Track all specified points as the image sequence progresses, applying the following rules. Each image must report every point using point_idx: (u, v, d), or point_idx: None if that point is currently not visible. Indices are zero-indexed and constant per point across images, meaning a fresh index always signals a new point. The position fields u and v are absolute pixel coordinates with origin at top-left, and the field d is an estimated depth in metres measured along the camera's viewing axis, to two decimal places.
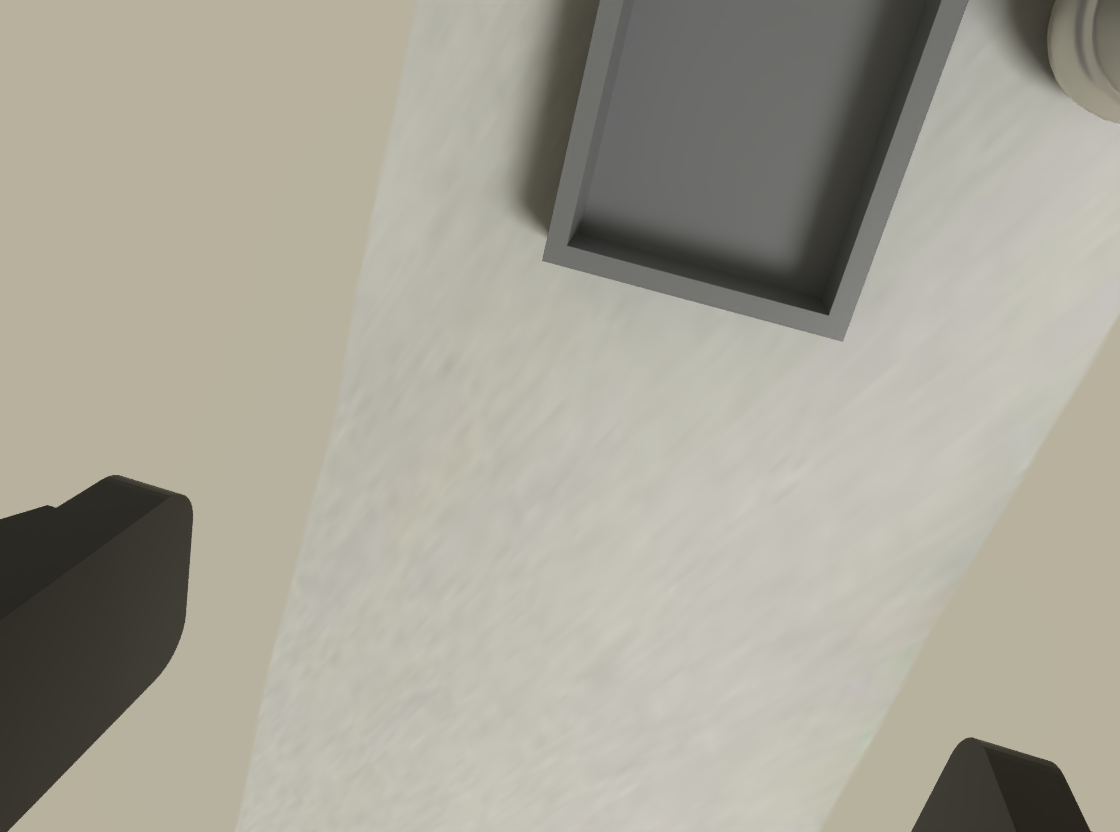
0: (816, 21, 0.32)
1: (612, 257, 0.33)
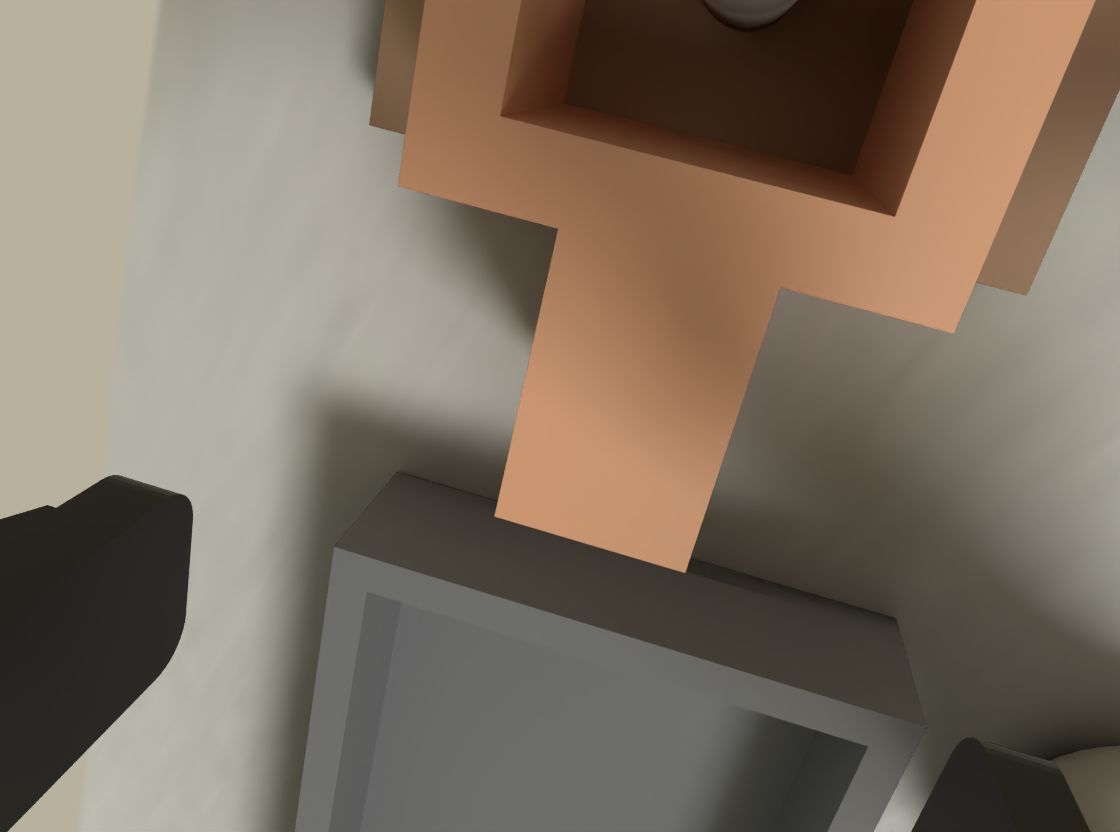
0: (639, 774, 0.22)
1: None
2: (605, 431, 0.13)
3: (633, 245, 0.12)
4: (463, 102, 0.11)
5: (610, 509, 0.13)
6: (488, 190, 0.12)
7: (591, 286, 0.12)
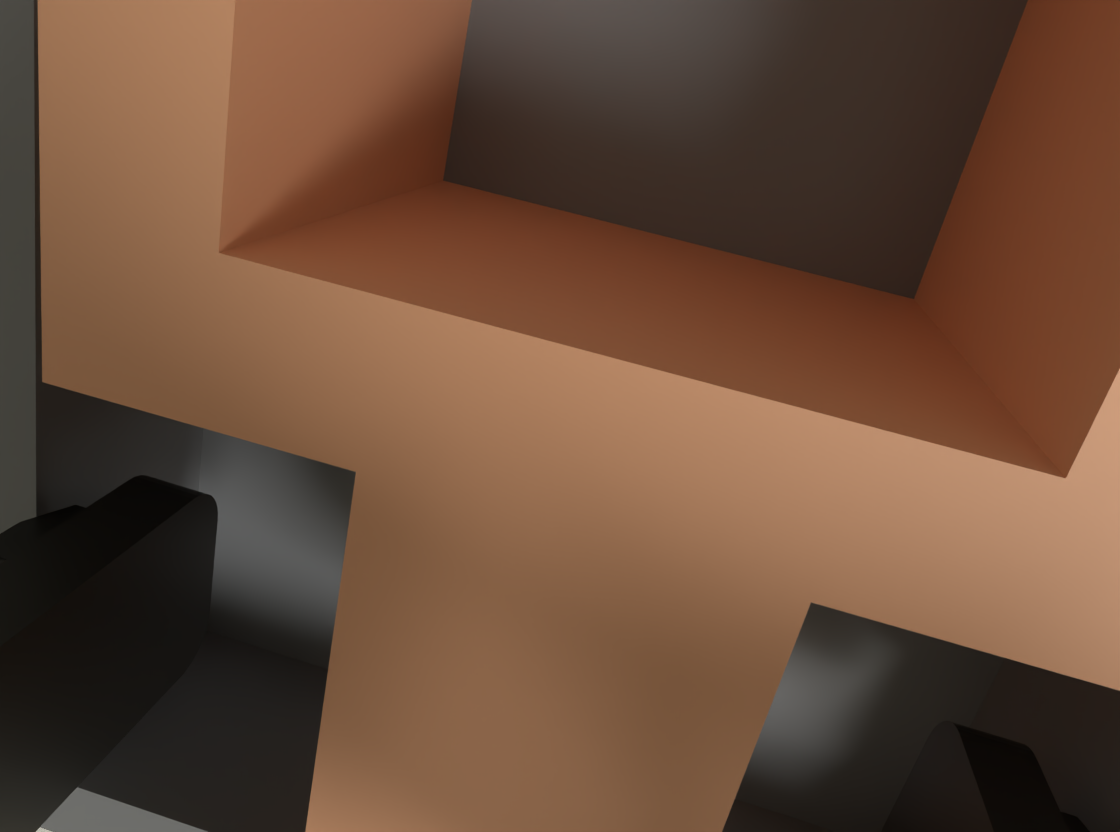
0: None
1: (193, 817, 0.10)
2: (476, 826, 0.07)
3: (511, 502, 0.06)
4: (144, 224, 0.05)
5: None
6: (213, 395, 0.06)
7: (430, 579, 0.06)
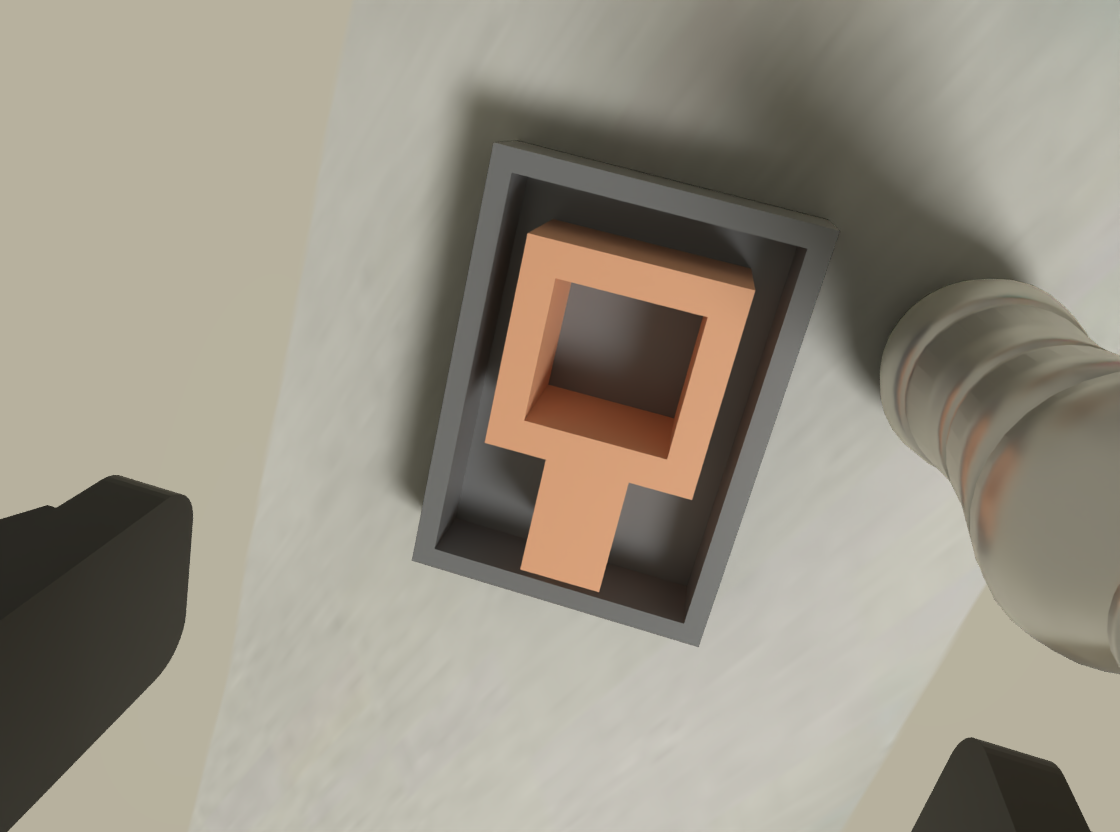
0: (668, 346, 0.33)
1: (478, 560, 0.35)
2: (565, 535, 0.32)
3: (574, 465, 0.31)
4: (510, 415, 0.31)
5: (567, 566, 0.32)
6: (519, 445, 0.31)
7: (558, 480, 0.31)
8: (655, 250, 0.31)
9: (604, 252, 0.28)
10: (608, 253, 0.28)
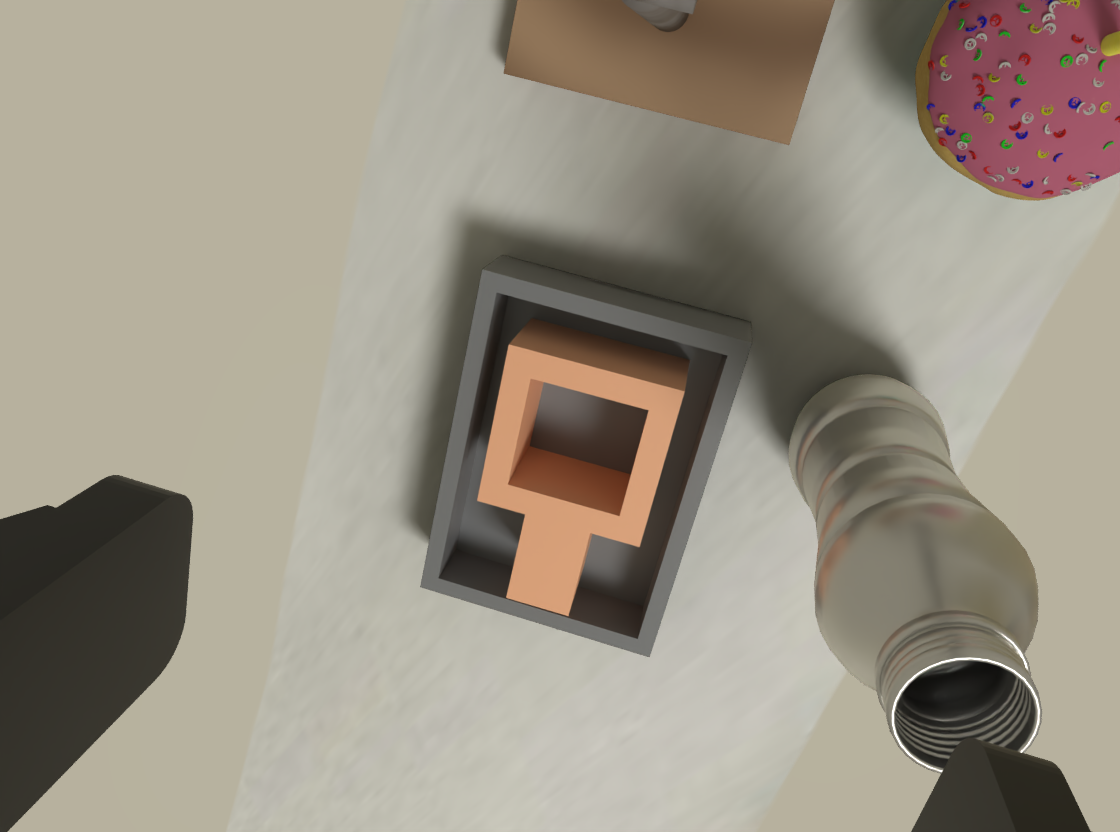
0: (625, 418, 0.42)
1: (473, 587, 0.43)
2: (541, 571, 0.40)
3: (547, 518, 0.39)
4: (497, 480, 0.39)
5: (543, 595, 0.40)
6: (504, 503, 0.39)
7: (535, 530, 0.39)
8: (611, 348, 0.39)
9: (568, 359, 0.36)
10: (571, 360, 0.36)
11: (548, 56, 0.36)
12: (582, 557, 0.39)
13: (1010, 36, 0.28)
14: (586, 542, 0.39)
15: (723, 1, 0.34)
